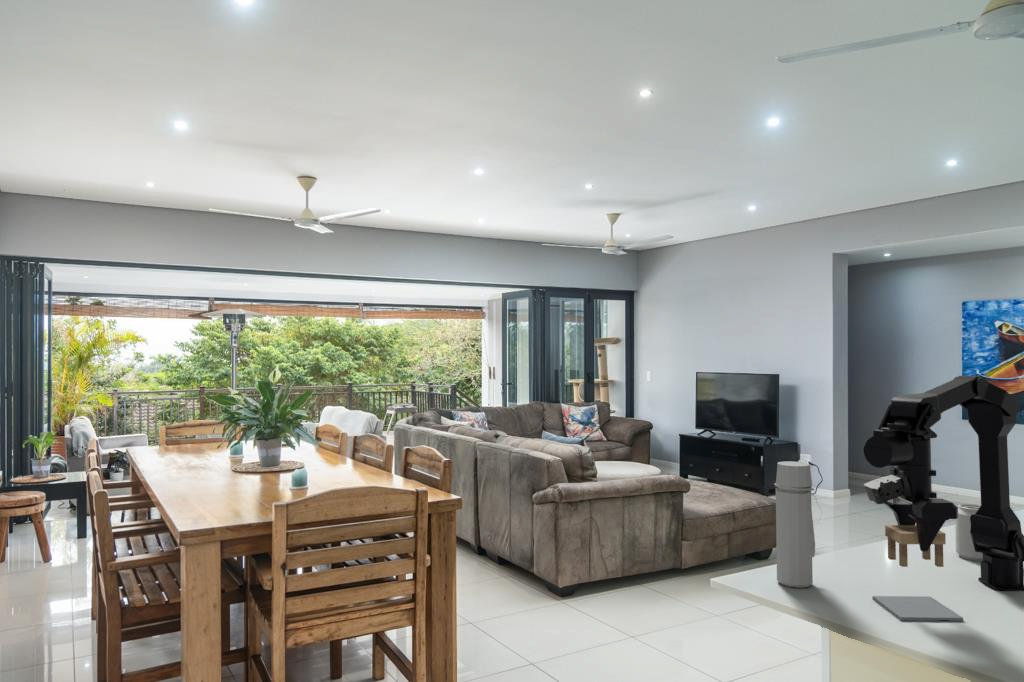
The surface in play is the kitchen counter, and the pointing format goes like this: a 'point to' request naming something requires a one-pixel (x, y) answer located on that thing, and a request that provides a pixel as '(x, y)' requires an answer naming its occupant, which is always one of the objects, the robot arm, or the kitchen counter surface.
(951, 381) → the robot arm
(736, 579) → the kitchen counter surface
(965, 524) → the can
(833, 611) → the kitchen counter surface
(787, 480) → the water bottle
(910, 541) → the stool
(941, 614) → the gray panel
